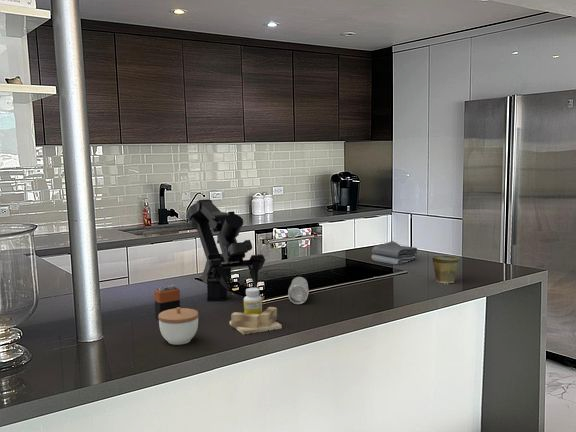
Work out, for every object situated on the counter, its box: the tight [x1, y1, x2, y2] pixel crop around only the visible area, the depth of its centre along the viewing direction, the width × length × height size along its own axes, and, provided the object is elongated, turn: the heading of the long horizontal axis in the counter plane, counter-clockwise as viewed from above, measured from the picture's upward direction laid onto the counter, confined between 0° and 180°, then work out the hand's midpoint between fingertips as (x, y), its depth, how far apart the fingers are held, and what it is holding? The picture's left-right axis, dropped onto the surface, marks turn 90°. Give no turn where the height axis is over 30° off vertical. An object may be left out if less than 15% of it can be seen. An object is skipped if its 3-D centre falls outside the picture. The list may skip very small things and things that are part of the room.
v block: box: [229, 306, 283, 336], centre depth 164 cm, size 11×15×4 cm
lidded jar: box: [158, 306, 199, 346], centre depth 152 cm, size 11×11×9 cm
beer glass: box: [287, 276, 310, 305], centre depth 194 cm, size 7×7×15 cm
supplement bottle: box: [243, 287, 263, 314], centre depth 165 cm, size 5×5×10 cm
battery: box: [154, 284, 181, 320], centre depth 173 cm, size 4×7×10 cm, turn 127°
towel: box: [371, 240, 419, 266], centre depth 259 cm, size 15×18×8 cm
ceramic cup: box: [432, 254, 460, 285], centre depth 217 cm, size 13×10×10 cm
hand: (242, 287), depth 172 cm, fingers open, 9 cm apart
